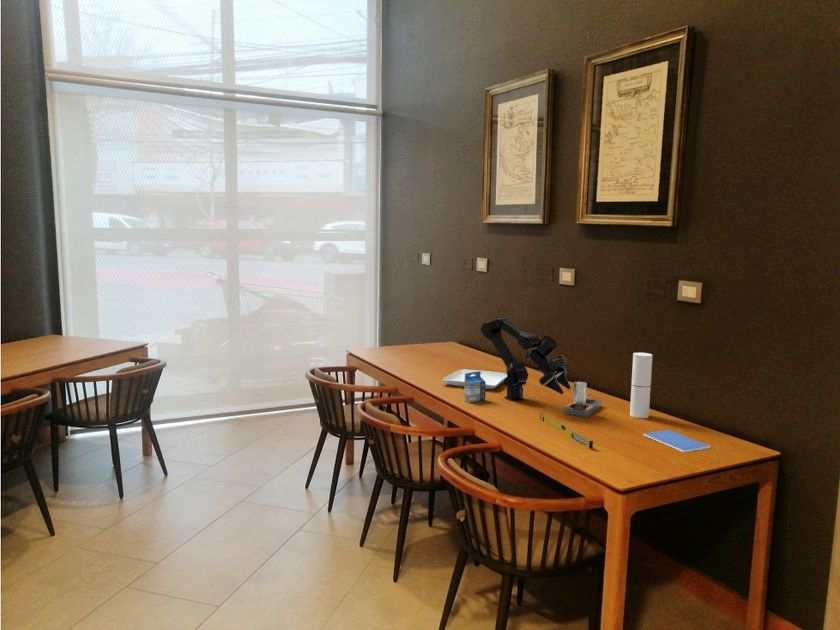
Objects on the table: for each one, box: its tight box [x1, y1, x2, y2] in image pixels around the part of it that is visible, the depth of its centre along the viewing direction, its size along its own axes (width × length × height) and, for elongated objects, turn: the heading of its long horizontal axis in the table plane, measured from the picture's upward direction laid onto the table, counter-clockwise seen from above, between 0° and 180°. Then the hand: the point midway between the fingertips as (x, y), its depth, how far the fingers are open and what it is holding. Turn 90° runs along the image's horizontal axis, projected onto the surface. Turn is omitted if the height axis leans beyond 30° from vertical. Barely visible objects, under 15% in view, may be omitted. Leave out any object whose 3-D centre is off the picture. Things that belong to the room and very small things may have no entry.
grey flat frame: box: [563, 397, 602, 418], centre depth 256 cm, size 20×10×3 cm, turn 148°
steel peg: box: [572, 381, 587, 410], centre depth 251 cm, size 5×5×12 cm
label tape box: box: [464, 370, 486, 404], centre depth 268 cm, size 9×4×12 cm, turn 123°
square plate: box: [441, 368, 507, 390], centre depth 301 cm, size 27×27×4 cm
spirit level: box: [539, 413, 594, 449], centre depth 225 cm, size 33×1×3 cm, turn 18°
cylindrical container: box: [629, 352, 653, 419], centre depth 247 cm, size 7×7×25 cm
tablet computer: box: [643, 429, 711, 453], centre depth 218 cm, size 19×13×1 cm, turn 24°
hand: (566, 391), depth 254 cm, fingers open, 9 cm apart
